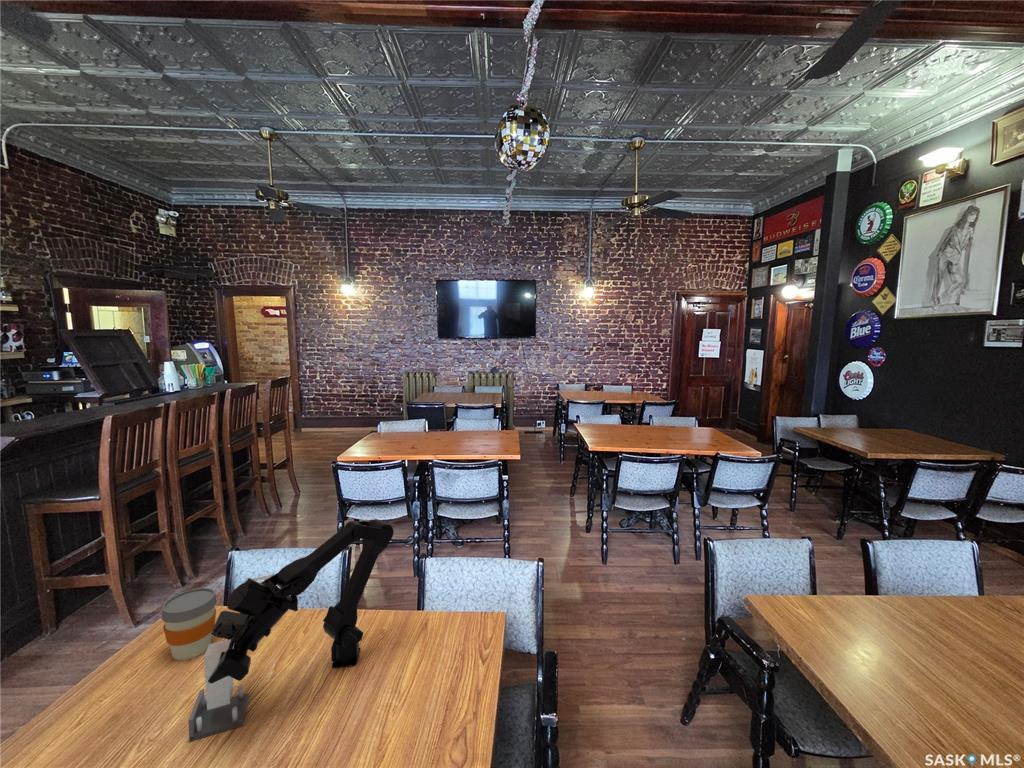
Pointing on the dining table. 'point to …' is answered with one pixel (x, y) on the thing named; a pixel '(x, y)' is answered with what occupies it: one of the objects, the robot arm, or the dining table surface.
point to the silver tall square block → (222, 688)
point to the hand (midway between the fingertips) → (212, 674)
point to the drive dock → (216, 716)
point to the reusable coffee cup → (189, 622)
